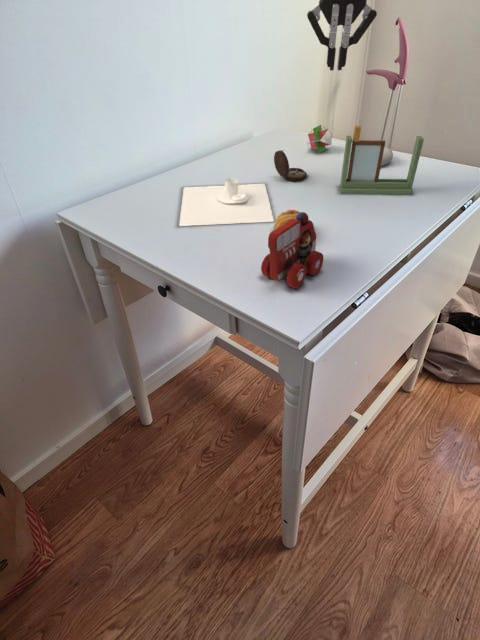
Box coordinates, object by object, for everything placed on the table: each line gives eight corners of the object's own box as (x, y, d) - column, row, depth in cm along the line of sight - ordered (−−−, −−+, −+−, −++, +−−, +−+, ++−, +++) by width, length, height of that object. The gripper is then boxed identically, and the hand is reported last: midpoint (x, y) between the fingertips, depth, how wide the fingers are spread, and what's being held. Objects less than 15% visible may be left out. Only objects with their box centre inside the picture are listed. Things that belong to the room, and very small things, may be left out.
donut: (386, 155, 117) (350, 154, 117) (389, 142, 115) (352, 142, 115) (395, 168, 110) (356, 168, 110) (398, 155, 107) (359, 155, 108)
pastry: (314, 247, 80) (315, 229, 78) (279, 249, 80) (279, 231, 78) (304, 224, 88) (305, 207, 85) (272, 226, 87) (272, 209, 85)
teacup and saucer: (251, 206, 95) (250, 188, 92) (215, 207, 95) (214, 190, 92) (248, 190, 101) (248, 173, 99) (215, 191, 101) (214, 174, 99)
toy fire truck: (328, 265, 76) (335, 211, 69) (287, 297, 69) (290, 241, 62) (296, 252, 79) (300, 200, 72) (254, 282, 72) (254, 227, 66)
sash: (376, 184, 99) (387, 125, 90) (377, 186, 98) (388, 127, 90) (346, 183, 100) (354, 125, 91) (346, 185, 99) (354, 127, 90)
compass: (311, 178, 106) (313, 148, 101) (284, 184, 103) (285, 154, 98) (294, 168, 111) (296, 139, 107) (268, 174, 109) (268, 144, 104)
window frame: (408, 187, 100) (420, 134, 92) (411, 194, 97) (424, 140, 89) (339, 186, 102) (346, 134, 94) (340, 193, 99) (347, 140, 91)
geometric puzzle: (296, 142, 120) (313, 121, 114) (310, 136, 124) (326, 115, 117) (312, 162, 120) (329, 142, 113) (325, 155, 124) (342, 135, 117)
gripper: (308, -44, 71) (301, 74, 82) (391, -47, 70) (372, 73, 81) (307, -44, 77) (301, 66, 88) (384, -47, 75) (367, 65, 86)
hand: (335, 69), depth 84 cm, fingers closed
